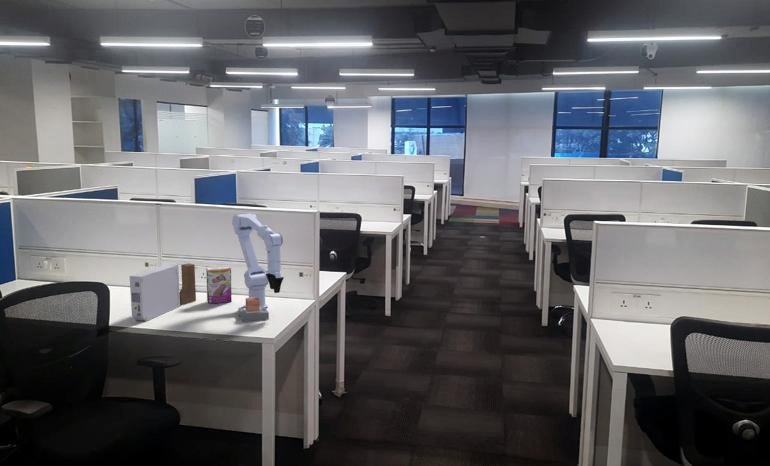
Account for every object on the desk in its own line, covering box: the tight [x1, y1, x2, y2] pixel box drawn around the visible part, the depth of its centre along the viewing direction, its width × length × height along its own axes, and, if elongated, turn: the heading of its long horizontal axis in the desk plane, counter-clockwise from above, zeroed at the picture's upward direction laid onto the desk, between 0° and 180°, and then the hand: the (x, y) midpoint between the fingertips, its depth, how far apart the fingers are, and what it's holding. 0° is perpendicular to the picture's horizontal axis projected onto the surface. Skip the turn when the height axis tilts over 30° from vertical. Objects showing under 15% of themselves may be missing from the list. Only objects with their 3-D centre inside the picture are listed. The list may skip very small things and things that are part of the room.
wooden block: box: [179, 263, 197, 306], centre depth 286 cm, size 9×4×18 cm, turn 147°
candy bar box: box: [205, 266, 233, 304], centre depth 288 cm, size 11×5×16 cm, turn 111°
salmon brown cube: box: [245, 297, 260, 312], centre depth 264 cm, size 5×5×5 cm
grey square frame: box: [237, 306, 270, 323], centre depth 264 cm, size 11×11×3 cm
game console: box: [129, 263, 181, 322], centre depth 267 cm, size 6×27×20 cm, turn 164°
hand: (274, 290), depth 269 cm, fingers open, 7 cm apart
